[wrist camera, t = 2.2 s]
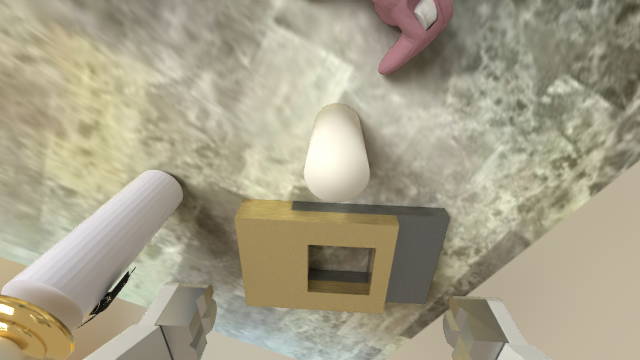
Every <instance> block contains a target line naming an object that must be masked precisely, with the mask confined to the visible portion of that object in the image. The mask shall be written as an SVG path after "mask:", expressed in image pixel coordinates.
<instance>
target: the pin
mask: <svg viewBox="0 0 640 360" xmlns="http://www.w3.org/2000/svg"><path fill="white" fill-rule="evenodd" d="M369 177H370V169H369V164H368V159H367V154H366V149H365V144H364V139H363V134H362V129H361V125H360V120H359V117H358V115H357V113H356V112H355V111H354V110H353V109H352V108H351V107H349V106H348V105H345V104H341V103H334V104H330V105H327V106H325V107H324V108H322V109H321V110H320V111H319V113H318V114H317V116H316V118H315V122H314V126H313V131H312V136H311V140H310V145H309V150H308V154H307V159H306V164H305V169H304V178H305V182H306V184H307V186H308V188H309V189H310V191H311V192H312V193H313V194H315V195H316V196H317V197H319V198H321V199H323V200H326V201H330V202H344V201H348V200H351V199H353V198H355V197H357V196H358V195H359V194H361V193H362V192H363V190H364V189H365V188H366V186H367V184H368V181H369Z"/></svg>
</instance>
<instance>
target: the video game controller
mask: <svg viewBox="0 0 640 360" xmlns="http://www.w3.org/2000/svg"><path fill="white" fill-rule="evenodd" d="M372 1H373V2H374V8H375V10H376V13H377V14H378V16H379V17H380V19H381V20H382V21H384V22H385V23H387V24H389V25H392V26H399V28H400V29H401V30H402V34H401V36H400V38H399V39H398V41H397V42H396V43H395V44H394V45H393V47H392V48H391V49H390V50H389V51H388V53H387V54H386V55H385V57H384V58H383V60H382V61H381V63H380V65H379V68H378V72H379V73H380V74H382V75H386V74H390V73H392V72H394V71H396V70H397V69H398V68H400V67H401V66H403V65H404V64H405V63H407V62H408V61H409V60H411V59H412V58H413V57H415V56H416V55H417V54H419V53H420V52H421V51H422V50H423V49H424V48H425V47H426V46H427V45H428V44H429V43H431V42H432V41H433V40H434V39H435V38H436V37H437V36H438V35H439V34H440V33H441V32H442V31H443V29H444V28H445V27H446V25H447V24H448V22H449V21H450V20H451V18H452V15H453V7H452V2H451V0H372Z"/></svg>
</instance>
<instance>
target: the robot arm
mask: <svg viewBox="0 0 640 360" xmlns="http://www.w3.org/2000/svg"><path fill="white" fill-rule="evenodd" d="M213 293H214V291H213V288H212V286H211V285H201V284H188V283H171V282H167V283H166V284H164V285H163V286H162V288H161V289H160V291H159V292H158V294H157V296H156V297H155V299H154V300H153V302H152V303H151V305H150V307H149V308H148V310H147V311H146V313H145V314H144V316H143V318H142V319H141V321H140V322H139V324H138V325H132V326H131V327H129V328H128V329H126V330H125V331H123V332H122V333H120V334H119V335H118V336H116V337H115V338H113V339H112V340H110V341H109V342H107V343H106V344H105V345H103V346H102V347H100V348H99V349H97V350H96V351H94V352H93V353H92V354H90V355H89V356H87V357H86V358H85V359H83V360H200V359H201V356H202V354H203V351H204V349H205V346H206V344H207V341H206V336H205V335H207V334H208V333H209V332H210V331H211V330H212V328H213V326H214V323H215V319H216V313H217V306H216V301H215V300H214V299H212V295H213ZM448 305H449V307H450V309H449V310H448V311H446V312H445V315H444V319H443V329H444V334H445V337H446V340H447V342H448V343H449V344H450V345H451V346H452V347H453V348H454V351H453V353H452V357H453V360H552V359H551V358H549V357H548V356H547V355H545V354H544V353H543V352H542V351H540V350H539V349H538V348H536V347H535V346H534V345H530V344H527V342H526V340H525V339H524V337H523V335H522V333H521V332H520V330H519V329H518V327H517V325H516V324H515V322H514V320H513V319H512V317H511V315H510V314H509V312H508V310H507V309H506V307H505V305H504V304H503V302H502V301H501V300H500V299H499V298H482V297H464V296H452V297H451V298H450V300H449V302H448Z"/></svg>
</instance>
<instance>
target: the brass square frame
mask: <svg viewBox="0 0 640 360" xmlns="http://www.w3.org/2000/svg"><path fill="white" fill-rule="evenodd" d="M234 219H235V226H236V233H237V240H238V247H239V254H240V261H241V268H242V275H243V282H244V289H245V296H246V303H247V306H263V307H280V308H296V309H313V310H330V311H347V312H364V313H380V314H383V309H384V304H385V302H400V303H417V304H425V303H426V299H427V296H428V292H429V289H430V285H431V282H432V278H433V275H434V271H435V268H436V264H437V261H438V257H439V254H440V250H441V247H442V244H443V240H444V237H445V233H446V230H447V226H448V223H449V219H450V218H449V216H448V214H447V212H446V210H445V208H425V207H404V206H383V205H362V204H341V203H320V202H299V201H278V200H257V199H243V201H242V203H241V205H240V207H239V209H238V211H237V213H236V215H235V217H234ZM310 245H323V246H343V247H362V248H370V251H369V259H368V266H367V272H349V271H330V270H312V269H310Z"/></svg>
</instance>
